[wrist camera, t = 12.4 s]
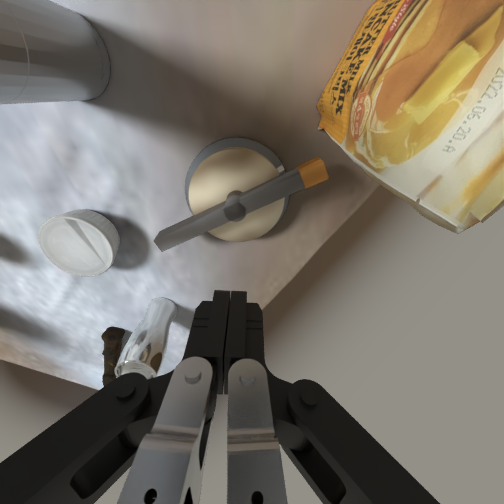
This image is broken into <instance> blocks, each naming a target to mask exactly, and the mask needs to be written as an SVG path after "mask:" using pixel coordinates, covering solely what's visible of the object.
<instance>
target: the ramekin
mask: <svg viewBox="0 0 504 504" xmlns="http://www.w3.org/2000/svg"><path fill="white" fill-rule="evenodd" d="M38 241H39V245H40V248H41V250H42V252H43V253H44V255H45V256H46V257H47V258H48V259H49V260H50V261H51V262H52V263H53V264H54V265H56V266H57V267H58V268H60V269H62V270H63V271H65V272H68V273H71V274H74V275H78V276H96V275H100V274H102V273H104V272H106V271H107V270H108V269H109V268H110V267H111V266H112V264H113V263H114V260H115V256H116V253H117V251H118V248H119V245H120V237H119V234H118V232H117V230H116V228H115V226H114V225H113V224H112V223H111V222H110V221H109V220H108V219H107V218H105V217H104V216H102V215H101V214H98V213H96V212H94V211H90V210H84V209H83V210H74V211H70V212H68V213H65V214H62V215H57V216H54V217H52V218H50V219H48V220H47V221H46V222H45V223H44V224H43V225H42V226H41V228H40V230H39V233H38Z"/></svg>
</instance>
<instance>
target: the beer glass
mask: <svg viewBox="0 0 504 504" xmlns="http://www.w3.org/2000/svg"><path fill="white" fill-rule="evenodd" d="M176 314H177V307H176V305H175V304H174V303H173V302H172V301H171V300H169V299H166V298H155V299H152V300H151V301H150V302H149V304H148V306H147V311H146V314H145V317H144V318H143V320H142V321H141V323H140V324H139V325H138V326H137V328H136V329H135V330H134V332H133V333H132V334H131V336H130V337H129V339H128V341H127V342H126V344H125V346H124V348H123V351H122V353H121V355H120V358H119V360H118V363H117V365H116V367H115V375H116V376H117V377H119V376H121V375H123V374H126V373H130V372H136V373H140V374H142V375H144V376H145V377H146V379H151V378H154V377H157V374H158V372H159V370H160V367H161V365H162V362H163V360H164V357H165V354H166V350H167V345H168V338H169V330H170V325H171V323H172V321H173V319H174V318H175V316H176Z"/></svg>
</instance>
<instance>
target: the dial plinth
mask: <svg viewBox="0 0 504 504" xmlns="http://www.w3.org/2000/svg"><path fill="white" fill-rule="evenodd" d="M229 147H242V148H248V149H251V150H254V151H256V152H258V153H260V154H262V155H263V156H265V157H266V158H267V159H268V160H269V161H270V162H271V163H272V164H273V165H274V167H275V168H276V169H277V171H278V173H279V175H282V174H284V173H286V171H285V169H284V167H283V165H282V163H281V161H280V160H279V158H278V157H277V156H276V155H275V154H274V153H273V152H272V151H271V150H270V149H269V148H268V147H266V146H264V145H263V144H261V143H259V142H257V141H255V140H251V139H248V138H241V137H231V138H225V139H222V140H218V141H216V142H214V143H212V144H210V145H209V146H207V147H206V148H205V149H204V150H202V151H201V152H200V153H199V155H198V156H197V157H196V158H195V159H194V161H193V162H192V164H191V166H190V168H189V170H188V173H187V177H186V182H185V194H186V200H187V203H188V206H189V208H190V211H191V213H192V210H191V207H190V204H189V185H190V182H191V178H192V176H193V174H194V172H195V171H196V169H197V168H198V166H199V165H200V164H201V163H202V162H203V160H204V159H205V158H207V157H208V156H209V155H211V154H212V153H214V152H216V151H218V150H221V149H224V148H229ZM288 201H289V196H286V197H285V200H284V207H283V211H282V214H281V216H280V218H279V220H278V221H277V223H278V222H279V221H280V220H281V218H282V217H283V215H284V213H285V211H286V208H287V205H288ZM192 214H193V213H192ZM193 216H194V215H193ZM277 223H276V224H277ZM276 224H275V225H274V226H276ZM274 226H273V227H274ZM269 231H270V230H269Z"/></svg>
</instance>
